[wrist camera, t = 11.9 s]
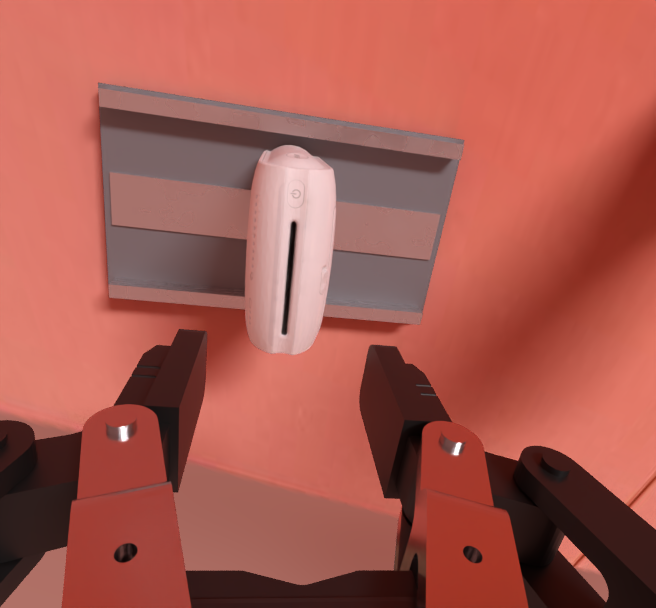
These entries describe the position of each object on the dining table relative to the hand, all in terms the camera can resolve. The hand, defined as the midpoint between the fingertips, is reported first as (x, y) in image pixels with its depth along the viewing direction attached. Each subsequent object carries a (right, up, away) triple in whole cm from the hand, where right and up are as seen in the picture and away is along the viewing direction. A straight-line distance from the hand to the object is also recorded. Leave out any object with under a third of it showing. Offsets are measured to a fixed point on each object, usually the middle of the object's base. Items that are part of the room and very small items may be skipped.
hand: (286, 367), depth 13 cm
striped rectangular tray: (-2, +8, +19) cm, 21 cm away
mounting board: (-2, +8, +19) cm, 21 cm away
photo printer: (-2, +8, +19) cm, 20 cm away
